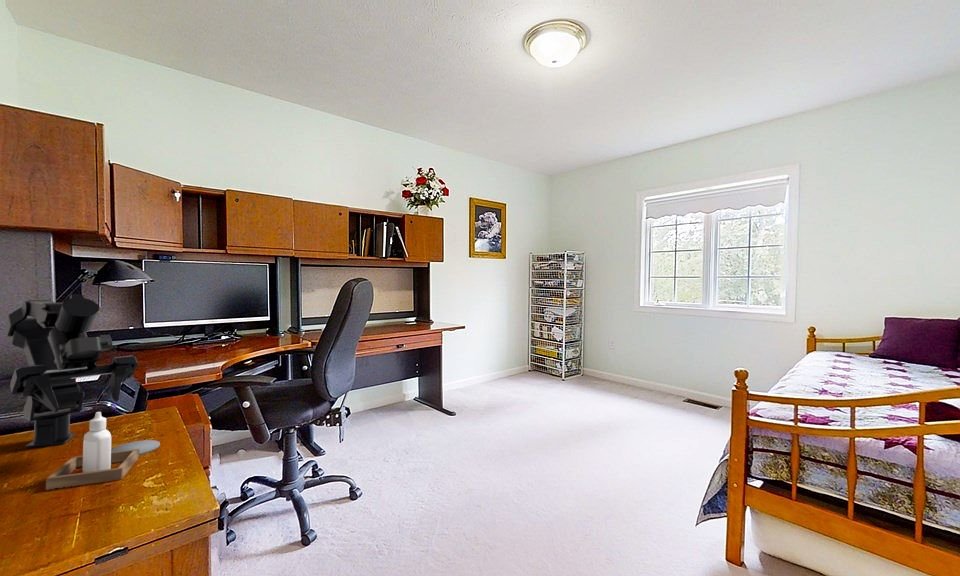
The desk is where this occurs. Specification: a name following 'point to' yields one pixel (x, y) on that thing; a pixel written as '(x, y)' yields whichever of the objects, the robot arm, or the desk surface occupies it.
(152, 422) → the desk surface
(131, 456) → the walnut collar
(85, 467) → the eye dropper bottle
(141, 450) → the rubber coaster
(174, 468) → the desk surface
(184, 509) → the desk surface
